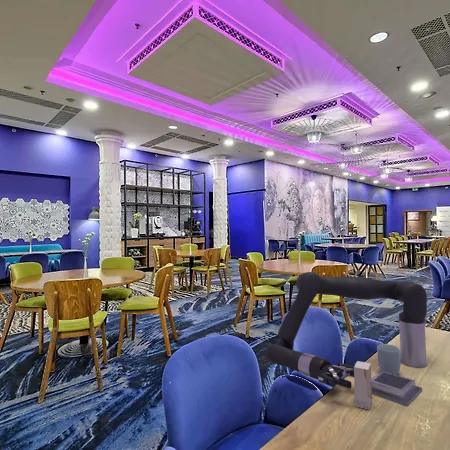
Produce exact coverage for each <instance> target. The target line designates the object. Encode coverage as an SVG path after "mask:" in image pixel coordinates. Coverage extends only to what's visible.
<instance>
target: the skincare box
mask: <svg viewBox="0 0 450 450" xmlns="http://www.w3.org/2000/svg"><path fill="white" fill-rule="evenodd" d="M353 367H354V377H353V378H354V379H353V381H354V406H355V407H357V408H362V409H364V410H365V409H366V410H370V409H371V407H372V403H373V394H372V383H371V379H372V364H371V363H370V362H365V361H360V360H357V361H356V363H354V366H353Z"/></svg>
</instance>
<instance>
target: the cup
mask: <svg viewBox="0 0 450 450" xmlns="http://www.w3.org/2000/svg"><path fill="white" fill-rule="evenodd" d="M376 348H377V349H376V353H377V356H376V357H377V363H378V365H377V366H378V369H379V371H380V372H381V371H385V372H388V373H392V374H395V375H399V373H400V371H401V354H400V347H399V346H397V345H393V344H387V343H386V344H385V343H381V344H380V343H379V344H378V345H377V347H376Z"/></svg>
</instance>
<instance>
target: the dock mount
mask: <svg viewBox="0 0 450 450" xmlns="http://www.w3.org/2000/svg"><path fill="white" fill-rule="evenodd" d="M371 383H372V395H374V396H376V397H379V398H382V399H386V400H388V401H391V402H394V403H397V404H400V405H402V406H405V407H408V406H410V404H411V403H413V401H414V400H415V399H416V398H417V397H418V396H419V395H420V394H421V393H422V392H423V387H421V386H417V385H416V380H415V379H412V378H408V377H405V376H401V375H399V374H397V375H395V374H392V373H388V372H385V371H380V372H378V373H377V374H375V376H373V377H371Z"/></svg>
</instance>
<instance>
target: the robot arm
mask: <svg viewBox="0 0 450 450" xmlns="http://www.w3.org/2000/svg"><path fill="white" fill-rule="evenodd" d="M295 286H296V288H297V289H298V291H297V294H296V297H295V299H294V301H293V303H292V305H291V307H290V308H289V310H288V311H287V313H286V315H285V316H284V319H283V321H282V322H281V325H280V327H279V330H278V332H277V336H278V338H279V339H280V341H279V344H278V343H273V344H270V345H268V346H267V348H266V350H265V357H266V359H267V360H268V362H270V363H272V364H274V365H275V364H276V365H277V366H280V367H281V366H283V367H286V368H288V369H290V370H292V371H294V372H298V373H300V374H303V375H304V376H306V377H309V378H312V379H314V380H317V381H318V382H319V383H320V384H323V385H326V386H328V387H331V388H335V387H343V388H345V389H348V390H350V389H352V388H353V386H352V381H351V380H347V379H345V378H348V377H351V378H354V366H352V365H349V364H345V363H342V362H337V363H336V364H337V365H336V364H331V362H330V361H329V360H328V359H327V358H325V357H321V356H317V355H314V354H311V353H305V352H301V351H298V350H295V349H294V345H295V344H294V343H295V340H296V337H297V335H298V333H299V330H300V328H301V325H302V324H303V321H304V319H305V316H306V315H307V312H308V310H309V308H310V307H311V304H312V303H313V301H314V299H315V298H316V296H317V295H330V296H331V295H333V296H336V297H342V298H346V299H353V300H360V301H361V300H363V301H370V300H376V299H387V300H394V301H397V302H400V303H401V302H402V303H403V309H402V311H401V312H399V314H398V322H399V323H398V326H399V349H400V363H402V364H403V365H406V366H409V367H412V368H425V367H426V366H427V365H428V362H427V344H426V340H427V339H426V324H425V323H426V322H425V321H426V320H425V319H426V316H427V313H428V311H427V310H428V308H427V307H428V296H427V292H426V289H425V287H423V286H422V285H421V284H419V283H415V282H412V281H408V280H398V281H396V280H395V281H394V280H393V281H391V280H389V281H388V280H379V279H375V278H371V277H370V278H369V277H362V276H323V275H319V274H318V273H316V272H315V271H307V272H304V273H301V274H299V276H298V277H297V278H296V281H295Z"/></svg>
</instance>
